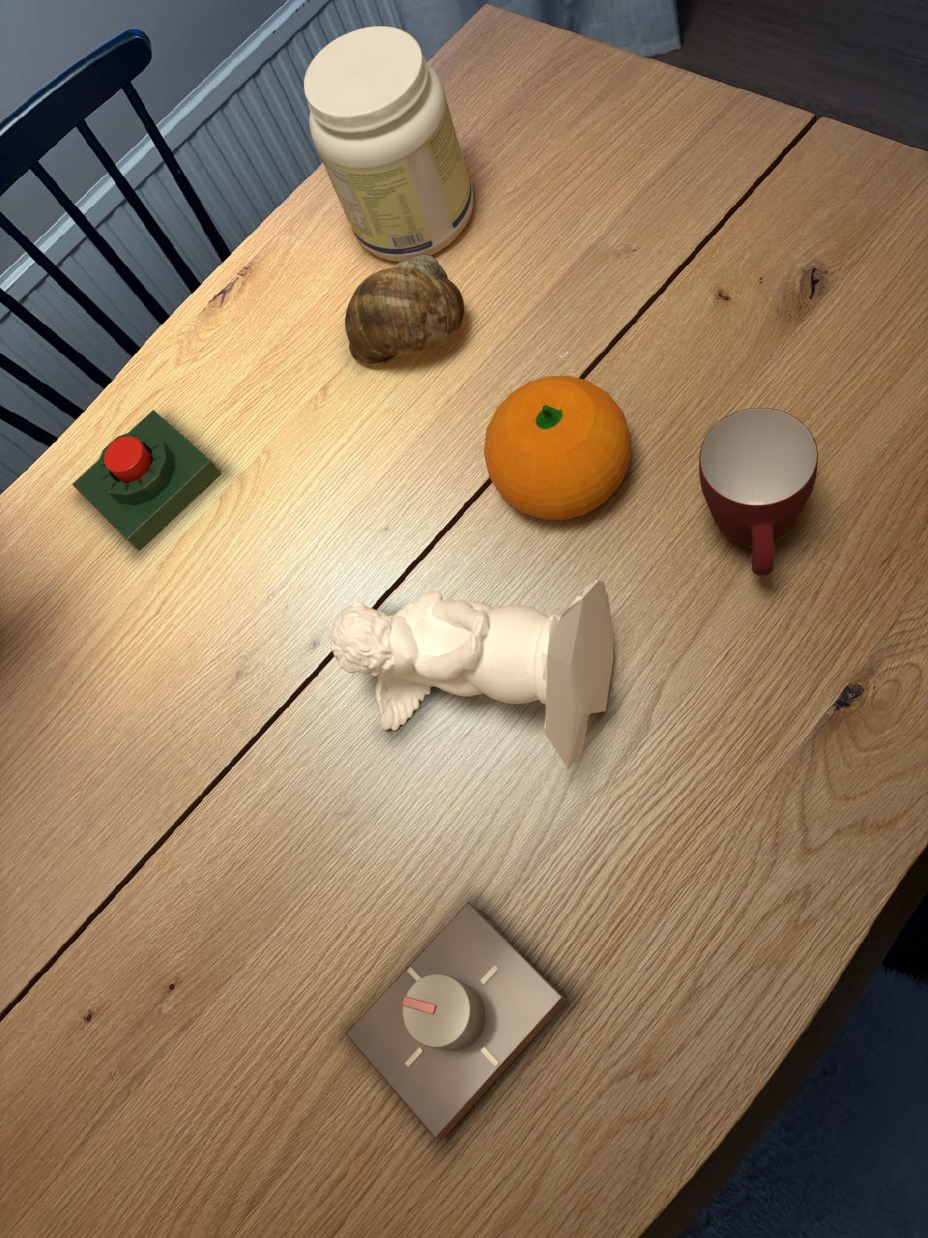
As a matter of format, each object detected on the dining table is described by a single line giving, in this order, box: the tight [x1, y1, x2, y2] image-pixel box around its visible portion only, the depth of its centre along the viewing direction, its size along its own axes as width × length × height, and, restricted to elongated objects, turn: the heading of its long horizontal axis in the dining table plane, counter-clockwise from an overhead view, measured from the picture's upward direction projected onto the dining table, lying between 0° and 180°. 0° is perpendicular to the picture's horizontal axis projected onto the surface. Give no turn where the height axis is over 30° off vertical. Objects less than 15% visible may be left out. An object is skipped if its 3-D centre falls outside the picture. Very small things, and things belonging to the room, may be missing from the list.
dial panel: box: [345, 901, 568, 1139], centre depth 74 cm, size 12×9×3 cm
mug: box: [698, 407, 819, 577], centre depth 80 cm, size 11×8×10 cm
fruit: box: [483, 375, 632, 520], centre depth 86 cm, size 12×12×10 cm
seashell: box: [344, 255, 465, 366], centre depth 97 cm, size 11×9×8 cm
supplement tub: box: [303, 25, 474, 263], centre depth 98 cm, size 12×12×17 cm
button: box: [104, 436, 152, 482], centre depth 96 cm, size 4×4×2 cm
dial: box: [402, 974, 484, 1051], centre depth 71 cm, size 4×4×5 cm
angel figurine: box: [329, 579, 615, 771], centre depth 80 cm, size 14×20×12 cm
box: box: [72, 409, 222, 551], centre depth 98 cm, size 10×9×4 cm
